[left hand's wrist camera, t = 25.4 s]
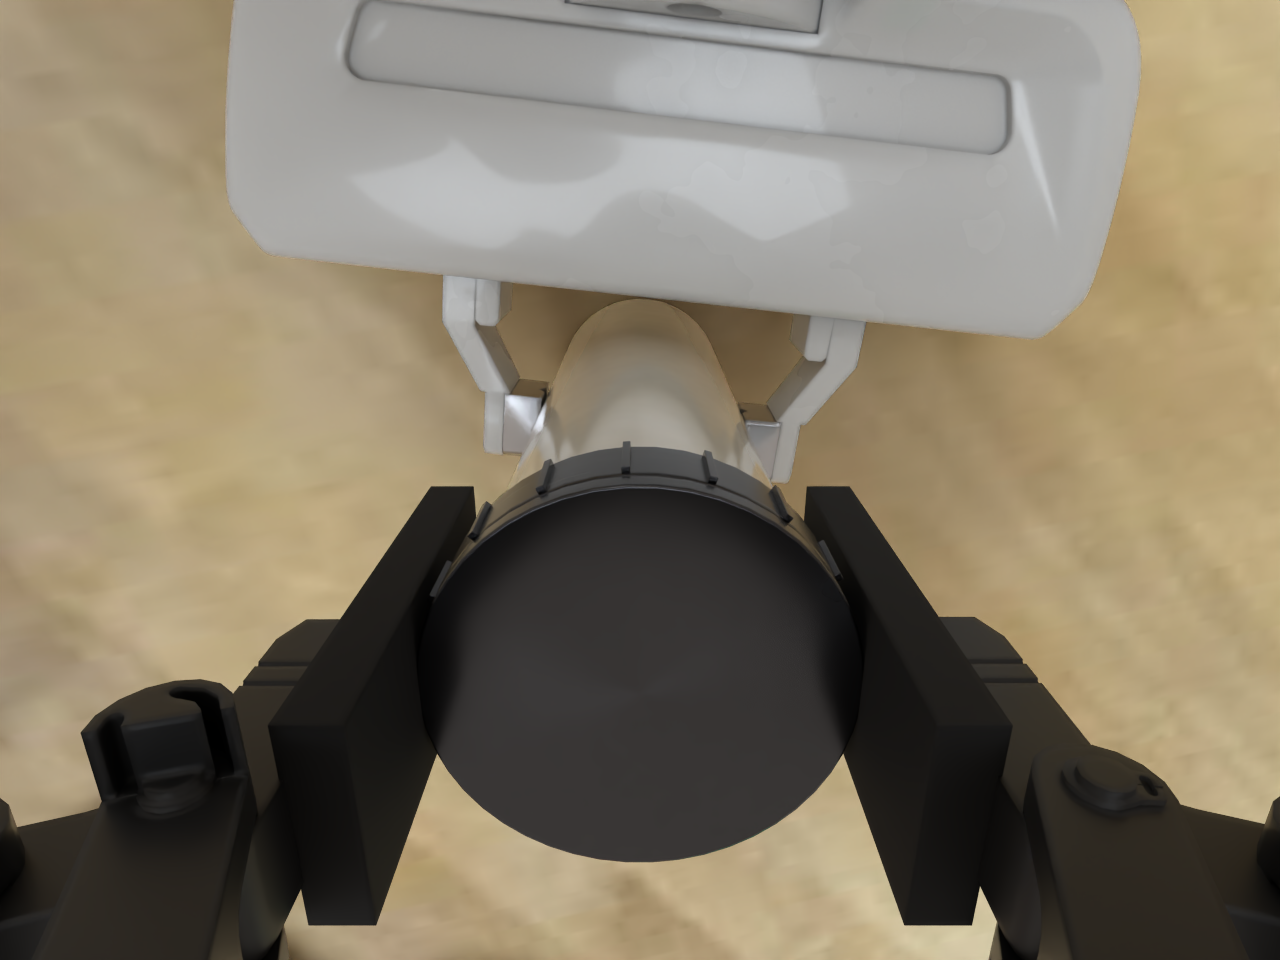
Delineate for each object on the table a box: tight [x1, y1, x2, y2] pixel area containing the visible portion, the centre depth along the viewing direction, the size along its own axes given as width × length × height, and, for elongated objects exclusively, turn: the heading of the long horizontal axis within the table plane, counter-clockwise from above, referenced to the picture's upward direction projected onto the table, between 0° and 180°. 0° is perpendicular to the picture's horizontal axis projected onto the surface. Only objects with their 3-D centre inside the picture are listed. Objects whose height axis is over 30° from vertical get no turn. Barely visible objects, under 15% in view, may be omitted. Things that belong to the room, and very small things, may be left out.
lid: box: [417, 441, 864, 862], centre depth 11 cm, size 6×6×2 cm
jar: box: [506, 299, 773, 491], centre depth 19 cm, size 5×5×17 cm
